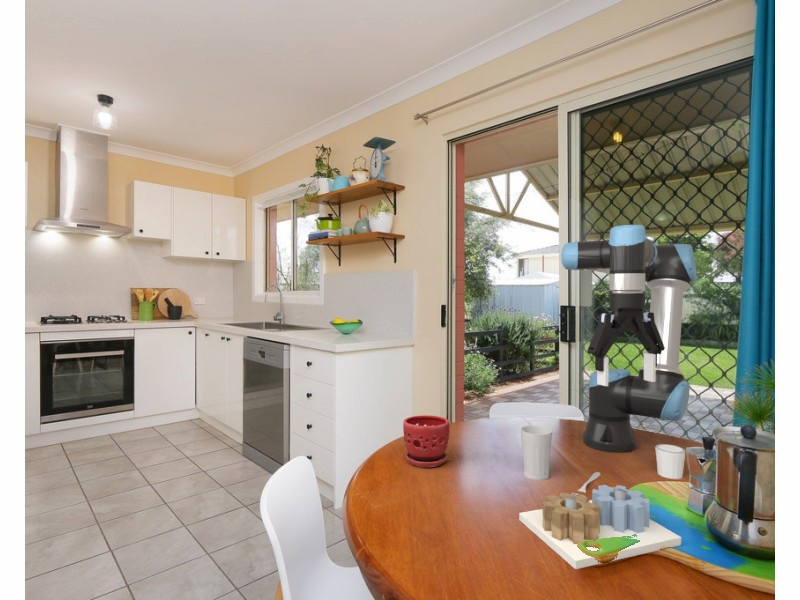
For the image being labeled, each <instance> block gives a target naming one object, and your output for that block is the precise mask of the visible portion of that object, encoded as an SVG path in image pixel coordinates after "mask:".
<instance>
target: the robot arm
mask: <svg viewBox="0 0 800 600" xmlns="http://www.w3.org/2000/svg"><path fill="white" fill-rule="evenodd" d="M646 234H647V233H646V227H645V226H644V225H642V224H625V225H623V224H622V225H616V226H613V227H611V228H610V231H609V239H604V240H602V239H600V240H584V241H577V240H576V241H573V242H571V241H570V242H567V243H564V245H563V246H562V249H561V253H560V254H561V255H560V257H561V258H560V259H561V264H562V266H563V268H564V269H565V270H570V271H580V270H581V271H583V270H585V271H593V272H598V273H604V274H606V275H607V276H609V286H608V287H609V291H610V292H611V293H609V295H608V296H609V297H608V300H609V303H608V305H609V306H608V307H609V309H611V313H605V312H604V313H600V314H599V316H598V324H597V326H596V329H595V330H594V332H593V336H592V338H591V341H590V343H589V345H588V348H587V354H590V355H592V356H594V358H595V359H594V365H595V366H594V368H595V371H593V372H591V373H590V375H589V377H588V378H589V381H588V418H587V422H586V425H585V430H584V431H583V434H582V442H583V443H584V444H585V445H586V446H588V447H590V448H592V449H596V450H599V451H603V452H604V451H605V452H612V453H628V452H631V451H634V450H636V448H637V439H636V437H635V434H634V430H633V427H632V424H631V415H632V416H633V415H634V416H638V417H639V416H641V417H646V418H652V419H657V420H661V421H675V422H678V421H680V420H681V419H682V418H683V417H684V416H685V413H686V411H687V407H688V403H689V398H690V388H691V387H690V386H691V385H690V382H689V381H687V380H685V374H683V372H682V371H680V369H679V365H680V363H679V361H680V350H681V349H680V348H681V335H682V334H681V333H682V320H683V304H684V294H685V292H686V291H688V290H689V289H690V288H691V283H693V282H695V281H696V282H697V266H696V260H695V259H696V258H695V254H694V250H693V249H694V248H693V247H692V246H691V245H690V244H687V243H672V244H659V245H657V244H654V243H653V241H652V240H650V239H648V238H647V235H646ZM646 287H647V288H648V289H649V290H650V291H651V295H650V305H649V306H650V307H649V311H643V310H644V309H645V308H646V294H645V293H643V291H646ZM623 333H625V334H626V333H633V334H634V335H635V336H636V338H637V339H638V341H639V342H640V343H641V345H642V346H643V348H644V349H645V351H646V352H644V353H643V366H642V367H640V368H639V370H638V375H632V372H631V371H630V370H629V369H624V368H610V369H609V356H607V354H608V353H609V351H610V350H611V348H612V346H613V345H614V344H615V342H616V340H617V339H618V338H619V336H620V335H623Z"/></svg>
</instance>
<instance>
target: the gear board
mask: <svg viewBox="0 0 800 600" xmlns="http://www.w3.org/2000/svg"><path fill="white" fill-rule="evenodd" d="M615 499H619V500H624V501H625V500H626V491H625V490H622V489H615ZM589 502H590V503H592V499H590V500H589ZM565 508H567V509H576V499H575V498H572V497H567V498H566V499H565ZM518 515H519V516H518V520H519V522H521V523H522V524H523V525H524V526H526V528H527V529H529V530H530V531H531V532H532V533H534V534H535V536H537V537H538V538H539V539H541V540H542V542H544V543H545V544H546V545H547V546H548V547H549V548H550V549H552V550H553V551H554V552H555V553H556V554H557V555H558V556H560V558H562V559H563V560H564V561H565V562H566V563H568V565H570V566H571V567H572V568H573V569H575V570H579V569H583V568H587V567H592V566H596V565H601V564H602V563H600V562H599V563H598V561H597V560H595V558H594V557H591V556H588V555H586V554H585V553H583V552H582V551H581V550H580V549H579V548H578V547H577V544H573V542H572V540H569V538H568V539H563V540H561V541H559V540H557V539H555V538H553V537H552V532H551V531H544V528H543V508H539V509H535V510H534V509H533V510H529V511H523V512H522V511H521V512H519V514H518ZM634 534H636V535H637V537H636V536H635V537H634V536H632V535H634ZM622 536H631V537H633V538H631V539H637V540H640V542H638V543H635V544H634V545H631V546H629V547H627V548H625V549H623V550H621V551H619V552H618V556H617V558H616V557H615V559H614V560H612V561H611V562H615V561H618V560H622V559H627V558H631V557H636V556H640V555H644V554H649V553H653V552H657V551H658V552H659V551H661V550H660V548H661V547H662V546H665V547H671V548H674V547H675V548H676V547H679V546H682V537H681V536H680V535H678V534H676V533H674V532H673V531H671V530H669V529H667V528H666V527H665V526H663V525H662V524H659V523H657V522H656V521H654V520H653V519H650V518H649V528H648V527H644V532H641V533H635V532H634V531H632V530H629V529H627V530H624V533H622V532H617V531H614V528H613V527H612V525H611V526H608V525H605V526H601V525H600V533H599V539H601V538H610V537H622ZM626 538H627V537H626ZM629 539H630V538H629ZM584 540H585V539H584ZM586 548H587V549H588V550H591V551H597V550H599V549H598V548H595V547H594V548H593V547H586Z"/></svg>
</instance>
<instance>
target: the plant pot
mask: <svg viewBox="0 0 800 600" xmlns="http://www.w3.org/2000/svg"><path fill="white" fill-rule="evenodd" d="M402 423H403V424H402V427H403V428H402V429H403V441H404V445H405V448H406V450H407V453H406V454H405V458H406V460H407V461H408V463H410V464H411V465H412V466H415V467H419V468H427V469H431V468H435V467H438V466H441V465H443V464H444V463H445V462H446V461H447V458H448V455H447V453H446V451H447V448H448V445H449V441H450V440H449V439H450V421H449V420H448V419H447V418H446V417H443V416H439V415H425V414H424V415H423V414H421V415H413V416H408V417H406V418H404V420H403V422H402Z"/></svg>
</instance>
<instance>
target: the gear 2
mask: <svg viewBox="0 0 800 600" xmlns="http://www.w3.org/2000/svg"><path fill="white" fill-rule="evenodd" d="M615 489H622V490H625V491H626V500H625V501H624V500H619V499H615ZM591 500H592V503H597V504H598V506H599V507H600V525H601V526H605V525H608V526H611V525H612V527H613V528H614V531H617V532H622V533H624V530H627V529H629V530H632V531H634V532H635V533H641V532H644V527H648V528H649V519H650V499H649V498H646V497H645V493H643V492H641V491H640V490H632V489H630V490H629V489H627V487H626V486H625V485H619V484H616V485H615V486H614V487H613V486H608V485H606V484H601V485H598V488H597V489H595V488H592V491H591Z"/></svg>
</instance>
